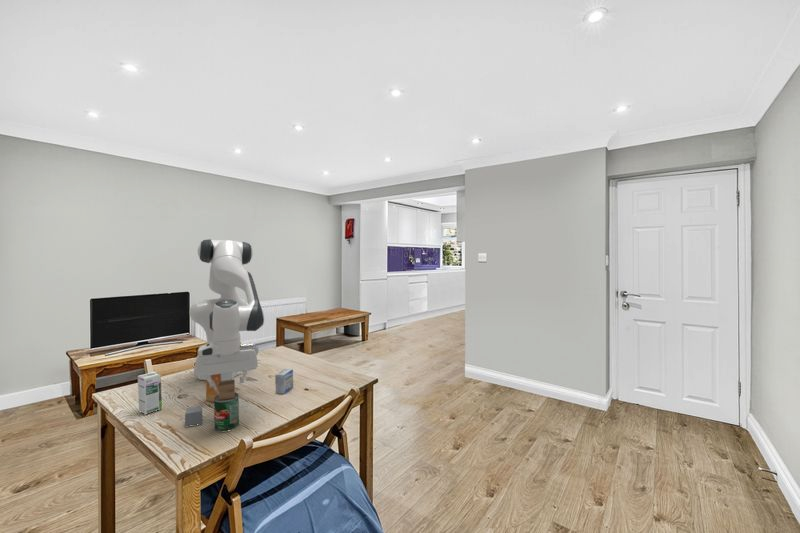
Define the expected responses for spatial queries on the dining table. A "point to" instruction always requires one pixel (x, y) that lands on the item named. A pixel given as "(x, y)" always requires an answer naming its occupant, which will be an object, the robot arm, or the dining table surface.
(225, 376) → the small box
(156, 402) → the syrup box
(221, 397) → the walnut block
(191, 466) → the dining table surface
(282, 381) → the medicine box
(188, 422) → the slate block
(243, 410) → the dining table surface
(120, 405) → the dining table surface
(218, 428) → the canned tomato
